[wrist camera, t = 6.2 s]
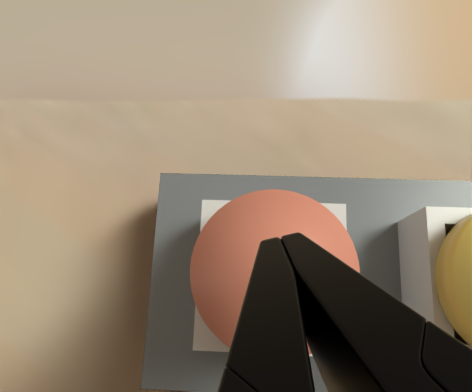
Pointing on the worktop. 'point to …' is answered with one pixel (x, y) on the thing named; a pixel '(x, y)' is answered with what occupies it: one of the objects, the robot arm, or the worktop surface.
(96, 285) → the worktop surface
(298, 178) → the control box
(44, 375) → the worktop surface
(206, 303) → the button brick
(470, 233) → the button mustard
